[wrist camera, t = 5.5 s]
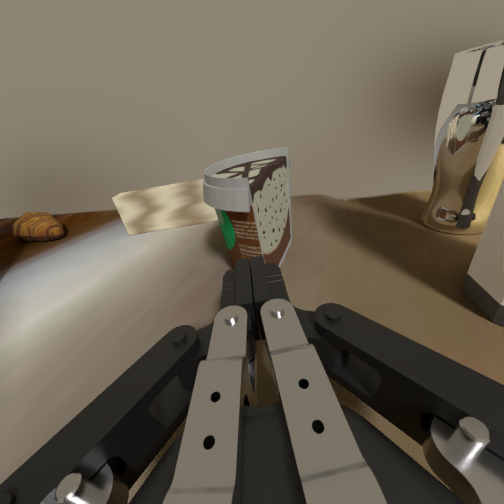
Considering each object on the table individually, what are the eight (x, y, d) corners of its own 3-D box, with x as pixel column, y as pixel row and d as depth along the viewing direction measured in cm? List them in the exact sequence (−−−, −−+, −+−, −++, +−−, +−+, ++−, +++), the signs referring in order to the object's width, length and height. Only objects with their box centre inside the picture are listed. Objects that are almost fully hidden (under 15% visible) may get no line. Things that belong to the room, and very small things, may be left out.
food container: (248, 232, 31) (234, 152, 26) (294, 233, 29) (288, 145, 24) (200, 294, 21) (163, 185, 16) (264, 303, 19) (243, 180, 14)
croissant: (83, 231, 43) (68, 205, 40) (43, 249, 38) (23, 221, 35) (44, 228, 49) (28, 205, 46) (4, 244, 43) (-15, 219, 41)
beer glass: (417, 233, 24) (459, 49, 17) (414, 208, 30) (445, 58, 22) (509, 240, 21) (613, 15, 14) (488, 211, 26) (555, 35, 19)
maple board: (129, 235, 37) (112, 198, 34) (135, 228, 39) (119, 193, 36) (267, 212, 36) (262, 172, 33) (266, 206, 38) (261, 169, 35)
